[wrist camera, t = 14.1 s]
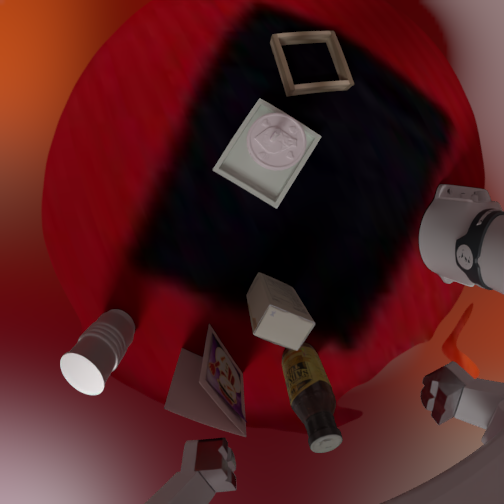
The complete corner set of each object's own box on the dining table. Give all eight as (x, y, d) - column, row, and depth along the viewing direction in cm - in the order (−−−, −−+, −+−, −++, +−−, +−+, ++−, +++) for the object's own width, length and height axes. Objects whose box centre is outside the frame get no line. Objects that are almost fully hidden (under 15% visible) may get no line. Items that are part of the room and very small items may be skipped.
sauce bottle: (291, 335, 45) (323, 421, 25) (322, 346, 46) (364, 427, 26) (272, 365, 46) (292, 454, 26) (303, 375, 47) (332, 459, 27)
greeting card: (247, 371, 46) (252, 435, 31) (210, 386, 46) (204, 448, 32) (213, 320, 43) (205, 379, 29) (175, 338, 44) (154, 397, 29)
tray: (258, 103, 36) (259, 98, 34) (316, 139, 38) (321, 136, 36) (213, 171, 38) (212, 170, 36) (274, 207, 40) (276, 208, 38)
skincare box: (245, 295, 43) (249, 334, 31) (258, 270, 42) (267, 302, 30) (282, 311, 44) (297, 353, 32) (295, 287, 43) (316, 323, 31)
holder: (328, 38, 34) (334, 30, 31) (346, 90, 36) (354, 84, 34) (269, 43, 34) (272, 34, 31) (286, 96, 36) (290, 90, 34)
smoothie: (246, 127, 36) (252, 95, 22) (292, 133, 37) (321, 105, 23) (241, 172, 37) (245, 163, 24) (288, 177, 38) (316, 171, 24)
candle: (97, 307, 42) (52, 350, 27) (132, 305, 42) (93, 353, 27) (107, 342, 43) (71, 392, 29) (142, 342, 44) (112, 397, 29)
